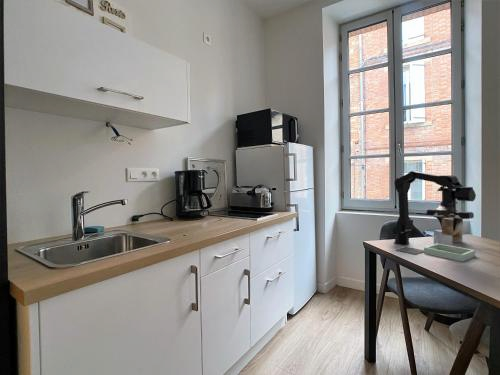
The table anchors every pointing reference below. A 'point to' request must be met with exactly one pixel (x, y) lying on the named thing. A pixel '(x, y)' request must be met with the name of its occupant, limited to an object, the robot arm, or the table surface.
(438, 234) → the medicine box
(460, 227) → the coffee box
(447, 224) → the walnut block
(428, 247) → the green square frame
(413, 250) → the mat
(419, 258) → the table surface
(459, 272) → the table surface
